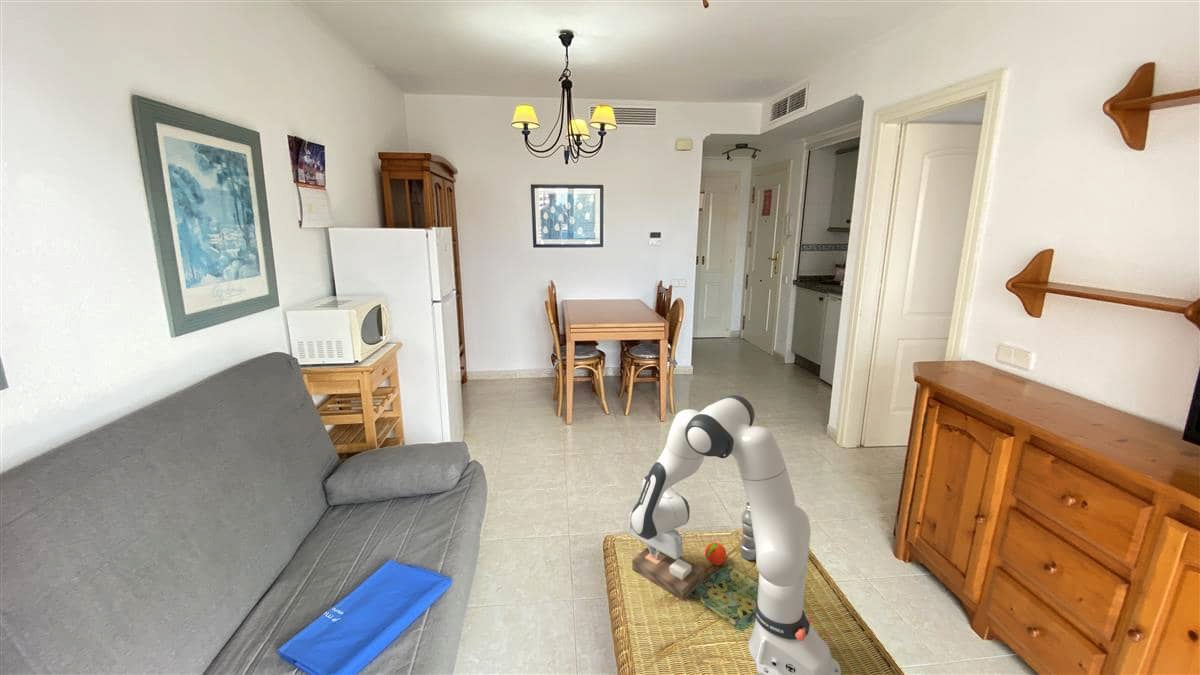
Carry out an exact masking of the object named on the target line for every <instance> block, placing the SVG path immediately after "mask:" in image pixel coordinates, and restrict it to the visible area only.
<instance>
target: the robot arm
mask: <svg viewBox="0 0 1200 675" xmlns="http://www.w3.org/2000/svg"><path fill="white" fill-rule="evenodd" d="M748 400H749V399H747V398H745V397H744V396H741V395H738V394H737V395H736V394H732V395H727V396H724V397H722V398H720V399H719V400H717V401H716V402H714V403H712V404H710V405H707V406H706V407H705V408H704V409H702V410H701V411H698V410H696V409H692V408H688V409H683V410H681V411H679V412H678V413H677V414H676V415H675V417H674V419H673V421H672V424H671V426H670V429H669V432H668V435H667V439H666V443H665V445H664V449H663V451H662V452H661V455H660V456H659V457H658V459H657V460H656V462H655V463H654V464H653V465H652V467H651V468H650V470H649V472H648V474H647V475H646V476H645V477H643V480H642V486H641V493H640V496H639V498H638V500H637V502H636V504H635V505H634V507H633V509H632V510H631V512H630V513H629V515H628V517H629V520H628V526H627V527H628V533H629V535H630V536H632V537H634V538H636V539H638V540H639V541H641V542H643V543H645V544H646V548H648V549H649V551H650V556H652V557H653V558H655V559H659V558H660V553H661V552H662V553H664V554H666V555H668V556H670V557H671V558H673V559H675V560H676V559H678V558H679V557H680V556H681V557H682V555H683V554H684V546H683V536H682V535H681V534H680V533H679V531H678V530H677V529H678V528H680V527H682V526H685V525H687V524H688V522H689V521H690V520H689V519H690V505H689V502H688V500H687V499H686V498H685V497H683V496H682V495H681V494H679V493H678V492H676V491H675V490H674V488H673V487H672V486H674V485H675V484H677V483H679V482H682V481H683V480H685V479H687V478H688V477H691V476H692V475H694V474H695V473H697V472H698V471H699V469H700V468H701V465H702V464H703V462H704V459H705V457H717V458H718V459H719V458H720V459H726V458H727V457H729V456H730V455H731V456H732V457H733V458H734V459H735V461H736V463H737V466H738V471H739V474H740V476H741V482H742V484H743V488H744V490H745V494H746V498H747V502H749V506H750V512H751V520H752V528H753V535H754V541H755V548H756V559H755V560H756V569H757V571H758V584H757V585H758V586H757V597H756V599H755V605H754V618H755V620H754V621H755V622H754V625H753V626H754V627H753V630H752V633H751V635H750V637H749V639H748V643H747V644H748V645H747V646H748V652H749V654H750V655H751V658H752V660H753V661H754V663H755V669H756V673H757V674H758V675H842V671H841V666H840V663H839V662H838V661H837V660H836V659H834V658H833V657H832V652H831V649H830V646H829V645H828V644H827V643H826V641H825V640H823V639H822V637H821V636H820V635H819V633H818V631H817V630H816V629H814V628H813V627H812V626H811V623H812V621H813V620H812V618H813V616H812V615H810V616H809V618H807V617H806V616H807V615H806V613H805V611H804V599H805V587H806V579H807V573H808V572H807V570H808V563H809V553H810V546H811V545H810V544H811V535H812V534H811V533H812V532H811V524H810V518H809V517H808V515H807V513H806V512H805V511H804V509H802V508H801V507H800V506H798V505H796V498H795V493H794V490H793V486H792V483H791V479H790V476H789V472H788V469H787V466H786V463H785V460H784V457H783V455H782V452H781V450H780V447H779V444H778V443H777V441H776V438H775V437H774V435H773V434H772V432H771V431H770V430H769V428H768V429H767V428H766V427H764V426H759V425H758V426H757V425H754V426H753V424H754V421H755V417H756V416H755V409H754V407H753V406H752V404H751V402H750V401H748ZM654 548H655V549H656V550H655V549H654Z"/></svg>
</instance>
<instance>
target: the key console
mask: <svg viewBox="0 0 1200 675" xmlns="http://www.w3.org/2000/svg"><path fill="white" fill-rule="evenodd" d="M654 549H655V548H654ZM655 550H656V549H655ZM648 554H650V551H649V549H648V547H646V548H645V549H643V550H642V551H641V552H640V553H639V554H637V555H636V556H634V557H633V558H632V559H631V560H632V561H631V563H632V564H631V566H632V567H631V569H632V571H634V572H635V573H637V574H638V575H640V576H642V577H643V578H644V579H646V580H648V581H649V582H651V583H652V584H654V585H656V586H658V587H659V588H661V589H662V590H664V591H665V592H667V593H669V594H671V595H672V596H673V597H675V598H677V599H679V600H680V601H682V602H683V601H684V600H685V599H687V597H689V595H691V593H692V592H693V591H694V590H695V589H696V588H697V587H698V586H699V585H701V584H702V582H704V580H705V568H703V567H702V566H699V565H698V564H696V563H695V562H692V561H690V560H688V559H687V558H685V557H683V556H682V555H681V556H680V557H679V558H678V559H680V560H682V561H684V562H686V563H688V564H689V565H691V566H692V571H691V573H690V574H689V575H688V576H687V577H686V578H685V579H684V580H681V579H679V578H678V577H676V576H674V575H672V574H671V573H669V566H671V565H672V564H673V563H674V562H675V561H676V560H677V559H676V560H675V559H673V558H671V557H670V556H668V555H666V554H664V553H662V552H661V553H660V554H662V555H664V556H666V558H665V559H664V560H663V561H662V562H661V563H659V564H658V565H655V564H654V563H652V562H650V561H648V560H647V559H645V557H646V556H647V555H648ZM694 588H695V589H694ZM693 589H694V590H693Z"/></svg>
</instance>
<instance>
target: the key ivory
mask: <svg viewBox="0 0 1200 675" xmlns="http://www.w3.org/2000/svg"><path fill="white" fill-rule="evenodd" d="M691 571H692V566H691V565H689V564H688V563H686V562H684V561H682V560H680V559H677V560H676V561H675V562H674V563H673V564H672V565H671V566H669V573H671V574H672V575H674V576H676V577H678V578H679V579H681V580H684V579H685V578H686V577H687V576H688V575H689V574H690V573H691Z"/></svg>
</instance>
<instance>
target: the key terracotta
mask: <svg viewBox="0 0 1200 675" xmlns="http://www.w3.org/2000/svg"><path fill="white" fill-rule="evenodd" d="M665 558H666V556H664V555H662V554H660V558H659V559H655V558H653V557H652V556H650V554H648V555H647V556H646V557H645V559H647V560H648V561H650V562H652V563H654V564H655V565H658V564H659V563H661V562H662V561H663V560H664V559H665Z"/></svg>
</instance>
